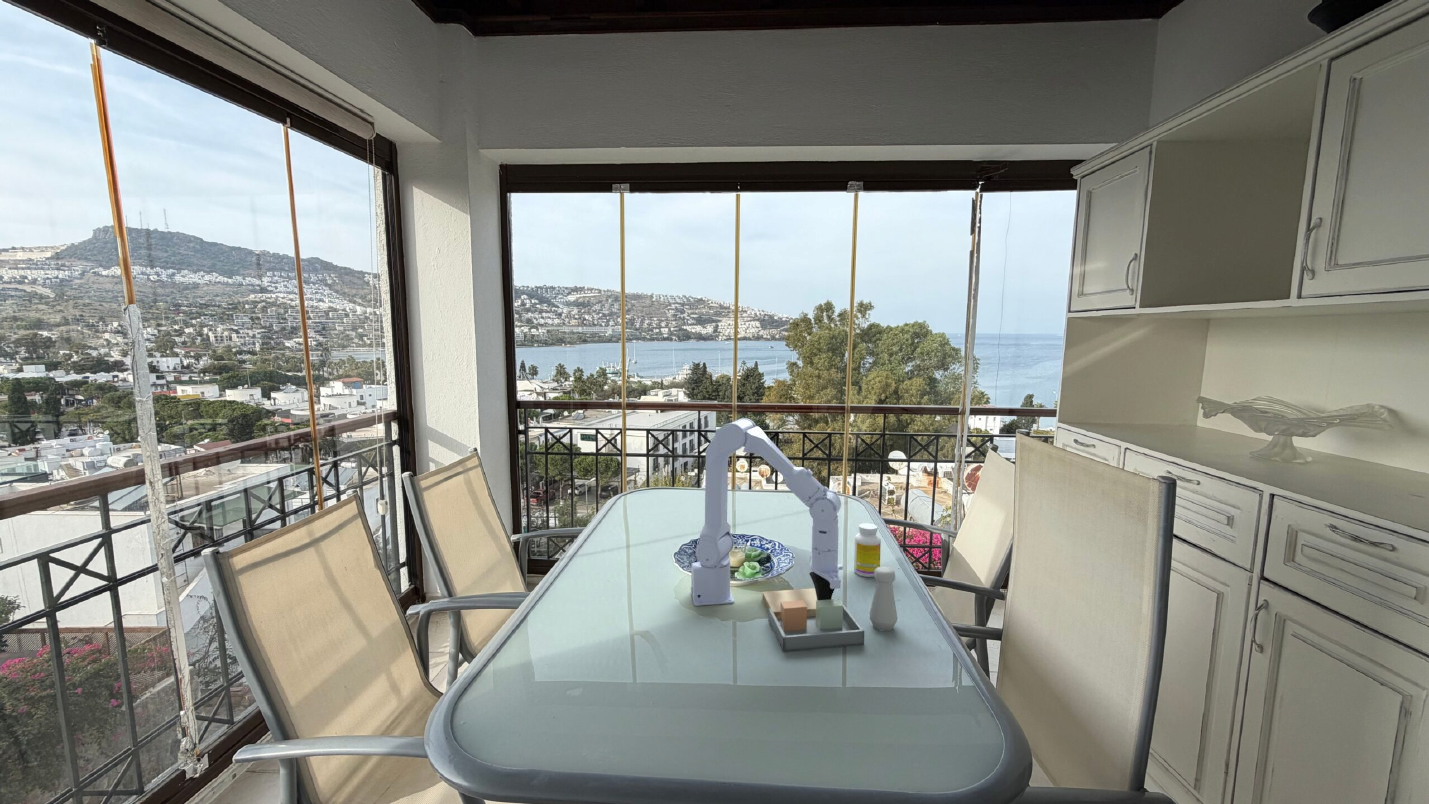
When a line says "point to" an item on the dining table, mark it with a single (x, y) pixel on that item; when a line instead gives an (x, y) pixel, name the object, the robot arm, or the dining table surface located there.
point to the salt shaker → (883, 600)
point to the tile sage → (829, 614)
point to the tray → (818, 634)
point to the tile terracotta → (793, 615)
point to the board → (790, 599)
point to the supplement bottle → (867, 550)
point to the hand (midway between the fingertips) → (823, 605)
